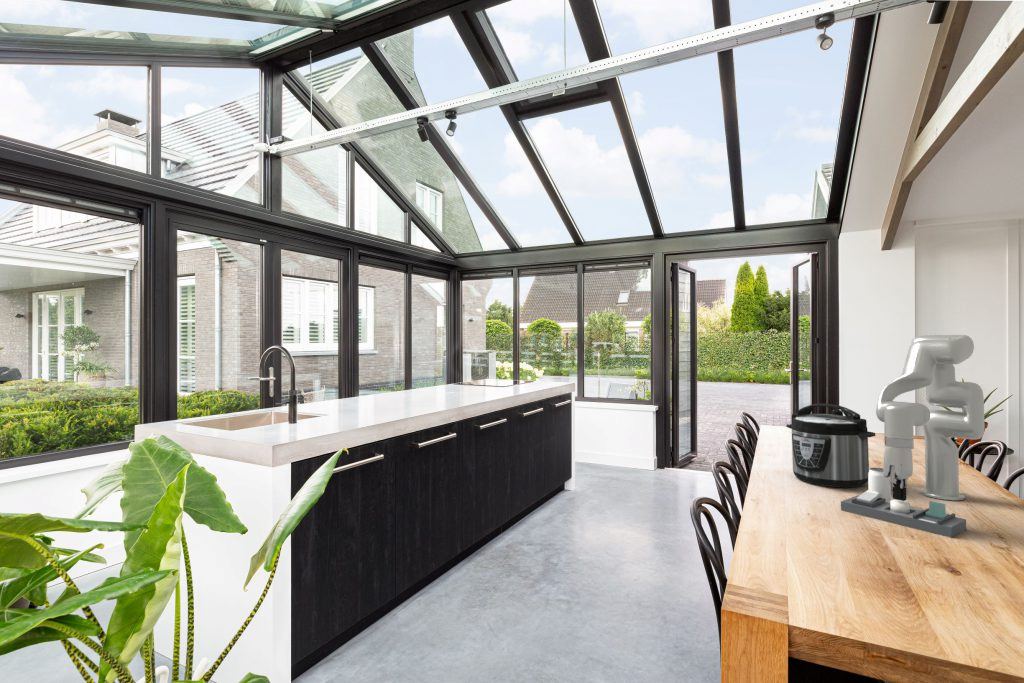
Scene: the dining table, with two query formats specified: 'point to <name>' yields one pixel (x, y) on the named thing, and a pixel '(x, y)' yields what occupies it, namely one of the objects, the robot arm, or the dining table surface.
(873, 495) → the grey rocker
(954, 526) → the control panel
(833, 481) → the pressure cooker
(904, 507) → the push button
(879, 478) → the can
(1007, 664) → the dining table surface
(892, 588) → the dining table surface
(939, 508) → the teal slide switch
